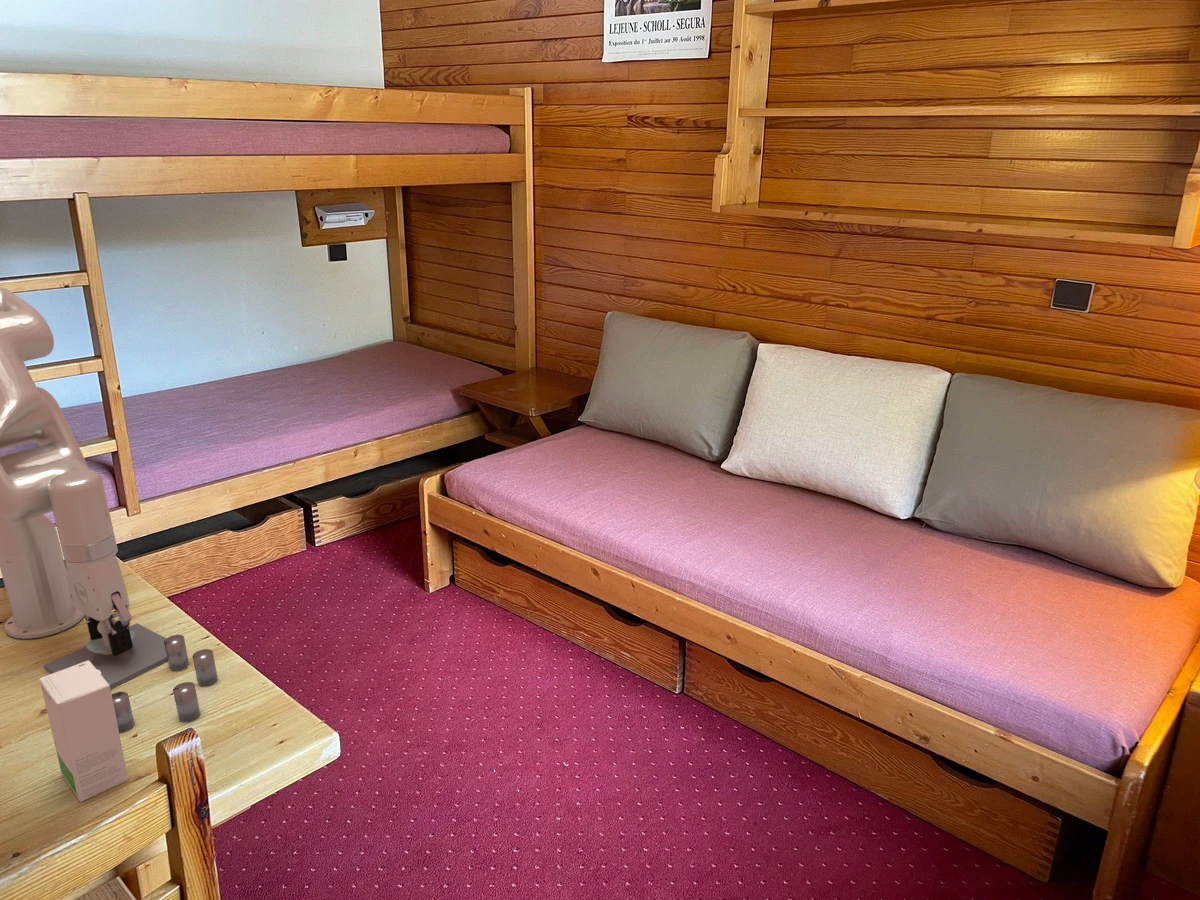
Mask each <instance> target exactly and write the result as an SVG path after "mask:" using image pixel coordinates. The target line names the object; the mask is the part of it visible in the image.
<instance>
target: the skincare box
mask: <svg viewBox="0 0 1200 900" xmlns="http://www.w3.org/2000/svg"><path fill="white" fill-rule="evenodd" d="M38 680H39V683H40V686H41V691H42V696H43V700H44V704H45V709H46V713H47V718H48V722H49V726H50V730H51V734H52V739H53V742H54V747H55V751H56V756H57V760H58V763H59V768H60V774H61V775H62V777H63V778H64V780H65V782H66V783H67V784H68V786H69V787H70V789H71V791H73V794H75V796H76V798H77V799H78V802H80V803H82V802H84V801H87V800H88V799H91V798H93V797H95V796H98V795H100V794H102V793H104V792H106V791H108V790H110V789H113V788H115V787H117V786H119V785H121V784H123V783H126V782H127V781H129V775H128V769H127V765H126V761H125V757H124V755H125V754H124V750H123V746H122V745H123V744H122V740H121V736H120V733H119V730H118V725H117V720H116V714H115V709H114V705H113V699H112V694H113V693H112V689H110V685H109V684H108V683H107V682H106V680H105V679H104V678H103V676H102V675H101V671H100V670H97V669H96V668H95V667H94V666H93V664H92V663H91V662H90V661H89V660H88V661H85V662H82V663H80V664H77V665H74V666H72V667H69V668H66V669H64V670H61V671H58V672H55V673H53V674H50V673H49V674H48V675H44V676H42V677H41V678H39V679H38Z"/></svg>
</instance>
